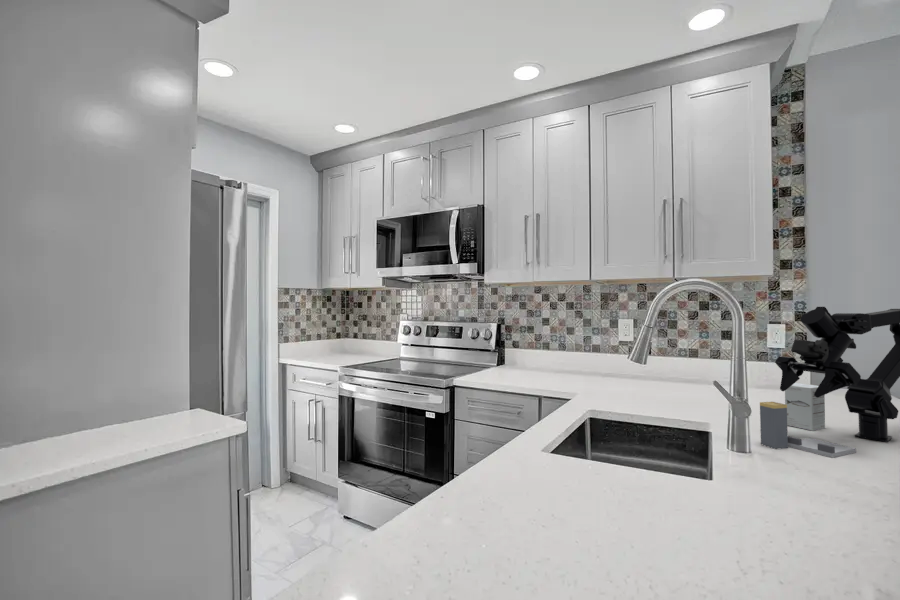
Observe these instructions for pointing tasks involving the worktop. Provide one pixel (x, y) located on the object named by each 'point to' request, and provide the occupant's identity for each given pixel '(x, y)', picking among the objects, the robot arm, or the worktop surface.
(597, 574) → the worktop surface
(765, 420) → the grey block
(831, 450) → the pad
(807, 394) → the supplement box
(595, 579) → the worktop surface
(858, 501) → the worktop surface
